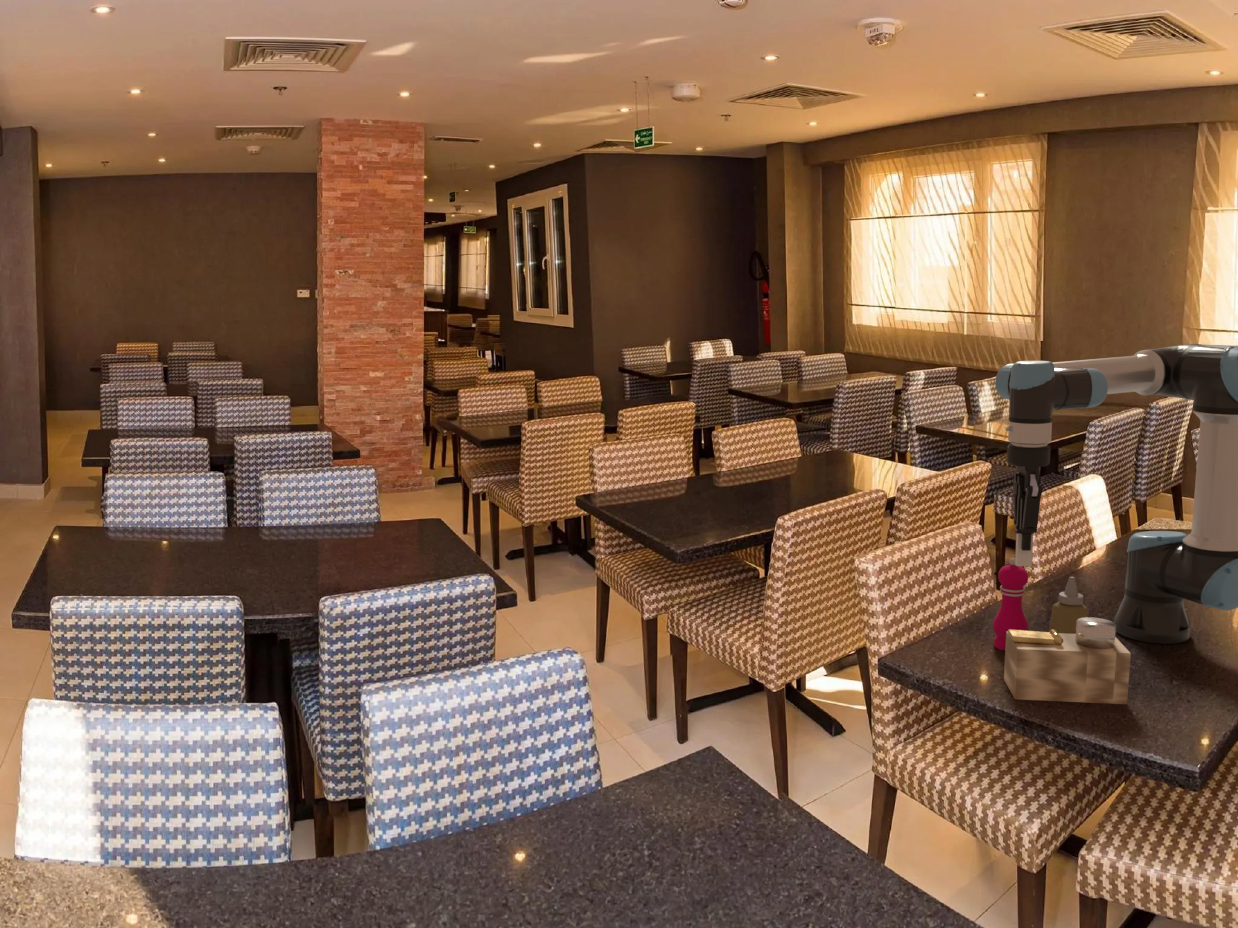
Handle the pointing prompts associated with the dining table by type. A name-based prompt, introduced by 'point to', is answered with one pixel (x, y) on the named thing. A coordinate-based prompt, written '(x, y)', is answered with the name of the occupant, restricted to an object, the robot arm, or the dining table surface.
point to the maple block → (1067, 671)
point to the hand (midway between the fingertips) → (1023, 565)
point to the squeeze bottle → (1068, 609)
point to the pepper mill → (1010, 603)
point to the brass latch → (1036, 636)
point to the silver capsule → (1095, 633)
